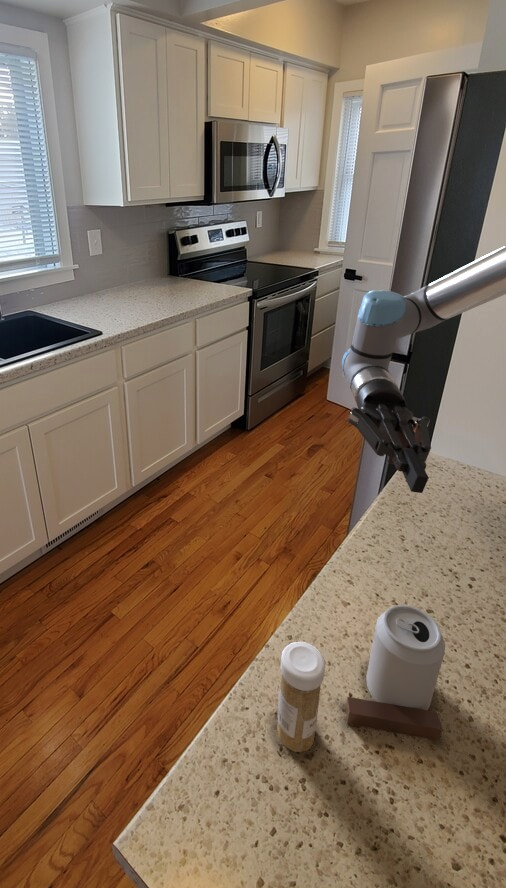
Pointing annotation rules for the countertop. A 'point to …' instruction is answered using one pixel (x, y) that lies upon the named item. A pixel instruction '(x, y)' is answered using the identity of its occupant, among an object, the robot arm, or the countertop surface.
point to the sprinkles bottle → (299, 695)
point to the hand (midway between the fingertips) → (419, 484)
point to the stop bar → (393, 718)
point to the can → (405, 658)
